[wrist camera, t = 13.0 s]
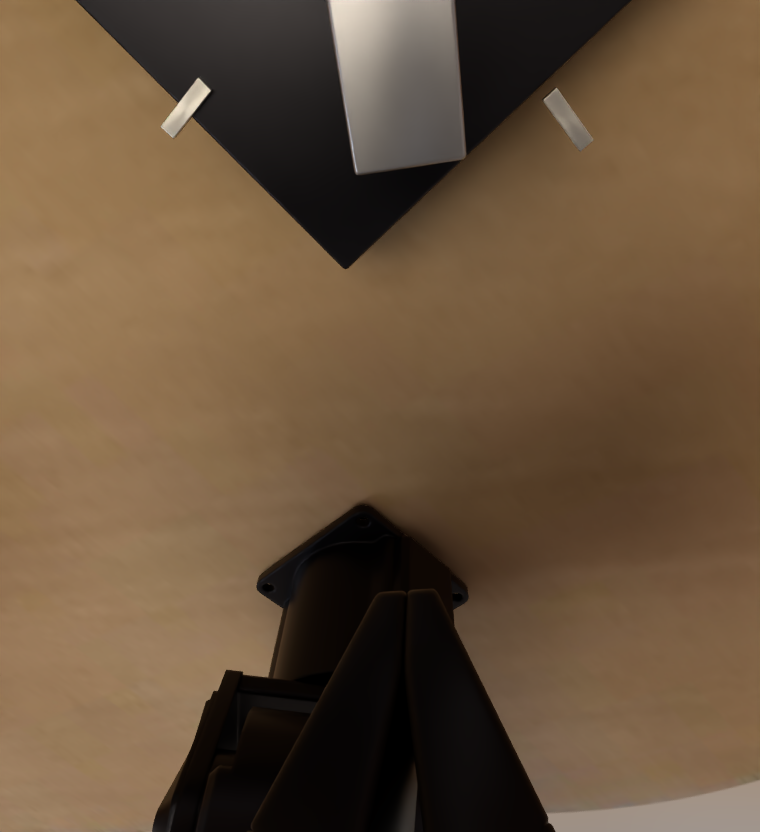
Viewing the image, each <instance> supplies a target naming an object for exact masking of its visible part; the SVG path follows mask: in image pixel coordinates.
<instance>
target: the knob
mask: <svg viewBox="0 0 760 832" xmlns="http://www.w3.org/2000/svg"><path fill="white" fill-rule="evenodd" d="M326 4H327V10H328V16H329V22H330V28H331V34H332V40H333V47H334V53H335V59H336V65H337V71H338V77H339V83H340V89H341V95H342V101H343V107H344V113H345V119H346V125H347V131H348V137H349V144H350V150H351V156H352V162H353V168H354V172H355V174H356V175H365V174H372V173H378V172H385V171H391V170H398V169H404V168H411V167H418V166H424V165H431V164H437V163H444V162H451V161H457V160H462V159H464V158H465V157H466V141H465V127H464V113H463V99H462V85H461V71H460V57H459V43H458V29H457V15H456V1H455V0H326Z"/></svg>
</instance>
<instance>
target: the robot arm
mask: <svg viewBox="0 0 760 832" xmlns="http://www.w3.org/2000/svg"><path fill="white" fill-rule="evenodd" d="M360 517H365V518H367V519H366V520H361V519H359V518H360ZM271 584H272V585H271ZM257 590H258V591H259V592H260V593H261V594H263V595H264V596H266V597H267V598H268V599H270V600H271V601H273V602H274V603H276V604H277V605H279V606H280V607H282V608H283V613H282V617H281V622H280V626H279V631H278V635H277V640H276V644H275V649H274V654H273V658H272V663H271V667H270V672H269V676H268V678H267V677H258V676H250V675H243V672H241V671H233V670H226V672H225V674H224V677H223V679H222V682H221V685H220V687H219V690H218V691H214V692H213V694H212V696H211V699H210V700H208V701H206V703H205V707H204V710H203V713H202V716H201V720H200V723H199V726H198V730H197V733H196V736H195V739H194V742H193V744H192V747H191V749H190V752H189V754H188V756H187V758H186V760H185V762H184V763H183V765H182V767H181V769H180V771H179V772H178V774H177V776H176V778H175V780H174V781H173V783H172V785H171V787H170V789H169V790H168V792H167V794H166V796H165V797H164V799H163V801H162V803H161V805H160V806H159V808H158V810H157V813H156V816H155V819H154V824H153V829H152V832H555V830H554V828H553V826H552V825H551V824H550V823H548V816H547V814H546V812H545V810H544V808H543V806H542V804H541V802H540V800H539V798H538V796H537V794H536V792H535V790H534V788H533V786H532V784H531V782H530V780H529V778H528V776H527V773H526V771H525V769H524V767H523V765H522V763H521V761H520V759H519V757H518V755H517V753H516V751H515V749H514V747H513V745H512V743H511V741H510V739H509V737H508V735H507V733H506V731H505V729H504V727H503V725H502V723H501V721H500V718H499V716H498V714H497V712H496V710H495V708H494V706H493V704H492V702H491V700H490V698H489V696H488V694H487V692H486V690H485V688H484V686H483V684H482V682H481V680H480V678H479V676H478V674H477V672H476V670H475V668H474V666H473V663H472V661H471V659H470V657H469V655H468V653H467V651H466V649H465V647H464V645H463V643H462V641H461V639H460V637H459V635H458V633H457V631H456V629H455V627H454V614H453V610H454V609H455V608H457V607H459V606H461V605H462V604H464V603H465V602H467V600H468V598H469V596H468V587H467V586H466V585H465V584H464V583H463V582H462V581H461V580H459V579H458V578H457V577H456V576H455V575H453V574H452V573H451V571H450V569H449V568H448V567H446V566H445V565H444V564H443V563H442V562H440V561H439V560H438V559H437V558H435V557H434V556H433V555H432V554H431V553H429V552H428V551H427V550H426V549H425V548H423V547H422V546H421V545H420V544H418V543H417V542H416V541H415V540H414V539H412V538H411V537H409V536H406V535H405V534H403V533H402V532H401V531H400V530H399V529H397V528H396V527H395V526H394V525H392V524H391V523H390V522H389V521H388V520H386V519H385V518H384V517H383V516H382V515H380V514H379V513H378V512H377V511H375V510H374V509H373V508H371V507H370V506H366V505H359V506H356V507H354V508H353V509H351V510H350V511H349V512H347V513H346V514H344V515H343V516H342V517H340V518H339V519H337V520H336V521H335V522H333V523H332V524H330V525H329V526H328V527H326V528H325V529H323V530H322V531H321V532H319V533H318V534H316V535H315V536H314V537H312V538H311V539H309V540H308V541H307V542H305V543H304V544H302V545H301V546H300V547H298V548H297V549H295V550H294V551H293V552H291V553H290V554H289V555H287V556H286V557H284V558H283V559H282V560H280V561H279V562H277V563H276V564H275V565H273V566H272V567H270V568H269V569H268V570H266V571H265V572H263V573H262V574H261V575H260V576H259V578H258V582H257ZM454 593H458V594H454Z"/></svg>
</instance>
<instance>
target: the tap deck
mask: <svg viewBox="0 0 760 832" xmlns="http://www.w3.org/2000/svg"><path fill="white" fill-rule="evenodd" d="M76 1H77V2H78V3H79V4H80V5H81V6H82V7H83V8H84V9H85V10H86V11H87V12H88V13H89V14H90V15H91V16H92V17H93V18H94V19H95V20H96V21H97V22H98V23H99V24H100V25H101V26H102V27H103V28H104V29H105V30H106V31H107V32H108V33H109V34H110V35H111V36H112V37H113V38H114V39H115V40H116V41H117V42H118V43H119V44H120V45H121V46H122V47H123V48H124V49H125V50H126V51H127V52H128V53H129V54H130V55H131V56H132V57H133V58H134V59H135V60H136V61H137V62H138V63H139V64H140V65H141V66H142V67H143V68H144V69H145V70H146V71H147V72H148V73H149V74H150V75H151V76H152V77H153V78H154V79H155V80H156V81H157V82H158V83H159V84H160V85H161V86H162V87H163V88H164V89H165V90H166V91H167V92H168V93H169V94H170V95H171V96H172V97H173V98H174V99H175V100H176V101H177V102H178V104H177V105H176V107H175V108H174V109H173V111H172V112H171V113H170V115H169V116H168V117H167V118H166V120H165V121H164V122H163V124H162V125H161V127H162V128H163V129H164V130H165V131H166V132H167V133H168V134H169V135H170V136H171V137H172V138H173V139H174V138H176V137H177V135H178V134H179V133H180V132H181V130H182V129H183V128H184V127H185V125H186V124H187V123H188V122H189V120H190V119H191V118H192V117H193V118H194V119H195V120H196V121H197V122H198V123H199V124H200V125H201V126H202V127H203V128H204V129H205V130H206V131H207V132H208V133H209V134H210V135H211V136H212V137H213V138H214V139H215V140H216V141H217V142H218V143H219V144H220V145H221V146H222V147H223V148H224V149H225V150H226V151H227V152H228V153H229V154H230V155H231V156H232V157H233V158H234V159H235V160H236V161H237V162H238V163H239V164H240V165H241V166H242V167H243V168H244V169H245V170H246V171H247V172H248V173H249V174H250V175H251V176H252V177H253V178H254V179H255V180H256V181H257V182H258V183H259V184H260V185H261V186H262V187H263V188H264V189H265V190H266V191H267V192H268V193H269V194H270V195H271V196H272V197H273V198H274V199H275V200H276V201H277V202H278V203H279V204H280V205H281V206H282V207H283V208H284V209H285V210H286V211H287V212H288V213H289V214H290V215H291V216H292V217H293V218H294V219H295V220H296V221H297V222H298V223H299V224H300V225H301V226H302V227H303V228H304V229H305V230H306V231H307V232H308V233H309V234H310V235H311V236H312V237H313V238H314V239H315V240H316V241H317V242H318V243H319V244H320V245H321V246H322V248H323V249H324V250H325V251H326V252H327V253H328V254H329V255H330V256H331V257H332V258H333V259H334V260H335V261H336V262H337V263H338V264H339V265H340V266H341V267H342V268H344V269H347V268H349V267H350V266H351V265H352V264H353V263H354V262H355V261H356V260H357V259H358V258H359V257H360V256H362V255H363V254H364V253H365V252H366V251H367V250H368V249H369V248H370V247H371V246H372V245H373V244H374V243H375V242H376V241H377V240H378V239H380V238H381V237H382V236H383V235H384V234H385V233H386V232H387V231H388V230H389V229H390V228H391V227H392V226H393V225H394V224H395V223H396V222H398V221H399V220H400V219H401V218H402V217H403V216H404V215H405V214H406V213H407V212H408V211H409V210H410V209H411V208H412V207H413V206H415V205H416V204H417V203H418V202H419V201H420V200H421V199H422V198H423V197H424V196H425V195H426V194H427V193H428V192H429V191H430V190H431V189H433V188H434V187H435V186H436V185H437V184H438V183H439V182H440V181H441V180H442V179H443V178H444V177H445V176H446V175H447V174H448V173H450V172H451V171H452V170H453V169H454V168H455V167H456V166H457V165H458V164H459V163H460V162H461V161H462V160H463V159H462V160H457V161H451V162H444V163H437V164H431V165H424V166H418V167H411V168H404V169H398V170H391V171H385V172H378V173H372V174H365V175H356V174H355V172H354V168H353V162H352V156H351V150H350V144H349V137H348V131H347V125H346V119H345V113H344V107H343V101H342V95H341V89H340V83H339V77H338V71H337V65H336V59H335V53H334V47H333V40H332V34H331V28H330V22H329V16H328V10H327V4H326V0H76ZM455 1H456V15H457V29H458V43H459V57H460V71H461V85H462V99H463V113H464V127H465V141H466V156H468V155H469V154H470V153H471V152H472V151H473V150H474V149H475V148H476V147H477V146H478V145H479V144H480V143H481V142H482V141H483V140H485V139H486V138H487V137H488V136H489V135H490V134H491V133H492V132H493V131H494V130H495V129H496V128H497V127H498V126H499V125H500V124H501V123H503V122H504V121H505V120H506V119H507V118H508V117H509V116H510V115H511V114H512V113H513V112H514V111H515V110H516V109H517V108H518V107H520V106H521V105H522V104H523V103H524V102H525V101H526V100H527V99H528V98H529V97H530V96H531V95H532V94H533V93H534V92H535V91H536V90H538V89H539V88H540V87H541V86H542V85H543V84H544V83H545V82H546V81H547V80H548V79H549V78H550V77H551V76H552V75H553V74H555V73H556V72H557V71H558V70H559V69H560V68H561V67H562V66H563V65H564V64H565V63H566V62H567V61H568V60H569V59H570V58H571V57H573V56H574V55H575V54H576V53H577V52H578V51H579V50H580V49H581V48H582V47H583V46H584V45H585V44H586V43H587V42H588V41H589V40H591V39H592V38H593V37H594V36H595V35H596V34H597V33H598V32H599V31H600V30H601V29H602V28H603V27H604V26H605V25H606V24H608V23H609V22H610V21H611V20H612V19H613V18H614V17H615V16H616V15H617V14H618V13H619V12H620V11H621V10H622V9H623V8H624V7H626V6H627V5H628V4H629V3H630V2H631V1H632V0H455ZM542 101H543V103H544V104H545V105H546V107H547V108H548V109H549V111H550V112H551V114H552V115H553V116H554V118H555V119H556V120H557V122H558V123H559V124H560V126H561V127H562V129H563V130H564V131H565V133H566V134H567V135H568V137H569V138H570V140H571V141H572V142H573V144H574V145H575V146H576V148H577V149H578V150H579V151H582V150H583V149H584V148H585V147H586V146H588V145H589V144H590V143H591V142H592V141H593V140H594V139H593V138H592V136H591V135H590V133H589V132H588V130H587V129H586V128H585V126H584V125H583V123H582V122H581V121H580V119H579V118H578V116H577V115H576V114H575V112H574V111H573V109H572V108H571V107H570V105H569V104H568V102H567V101H566V100H565V98H564V97H563V95H562V94H561V93H560V91H559V90H558V88H556V87H555V88H554V89H553V90H552V91H550V92H549V93H548V94H547V95H546V96H545V97H544V98H543V99H542Z"/></svg>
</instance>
